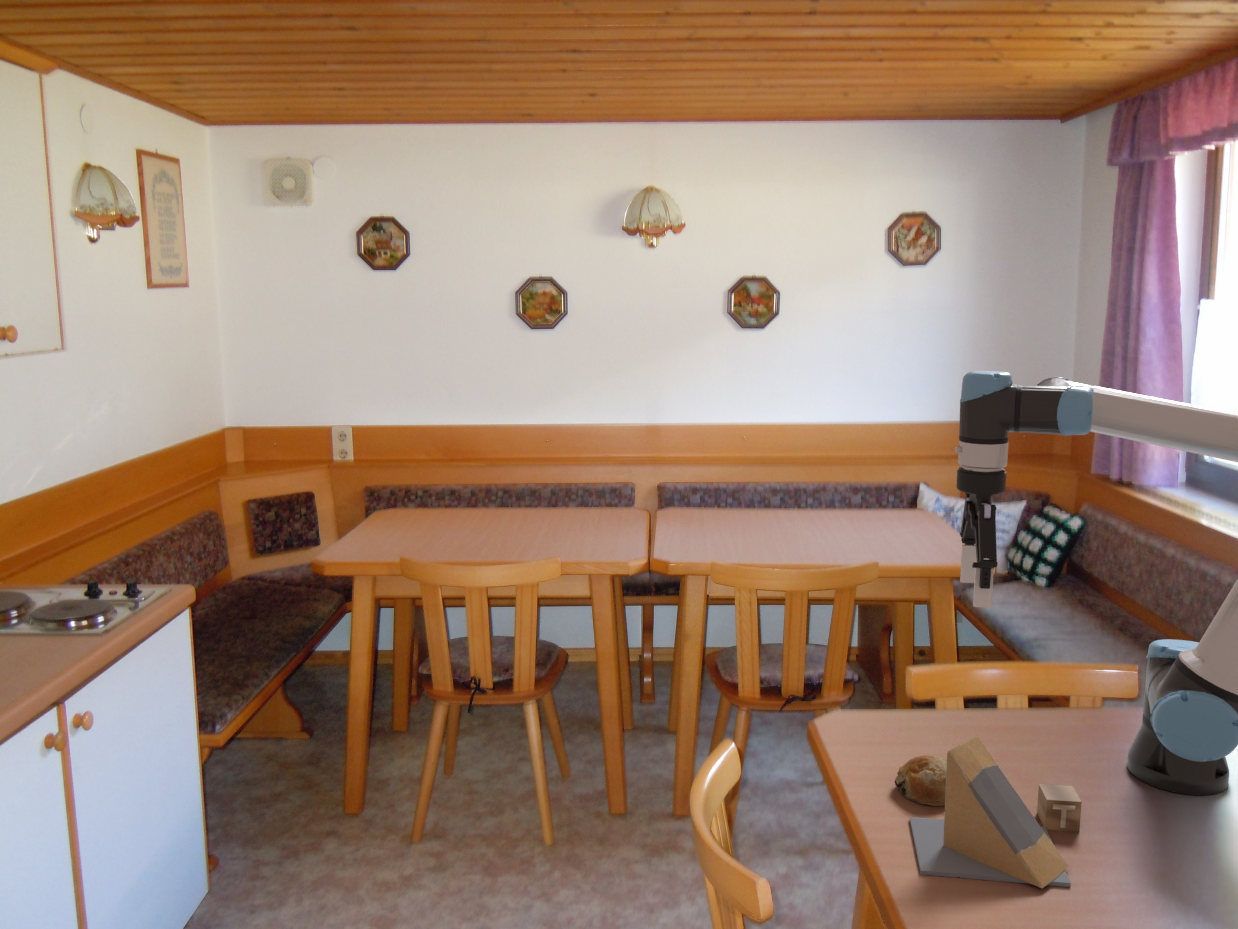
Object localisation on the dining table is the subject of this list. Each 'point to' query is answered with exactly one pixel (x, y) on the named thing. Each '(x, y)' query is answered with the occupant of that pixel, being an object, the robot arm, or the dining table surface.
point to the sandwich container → (994, 819)
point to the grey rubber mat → (956, 856)
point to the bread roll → (923, 780)
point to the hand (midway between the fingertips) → (975, 594)
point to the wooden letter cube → (1059, 807)
